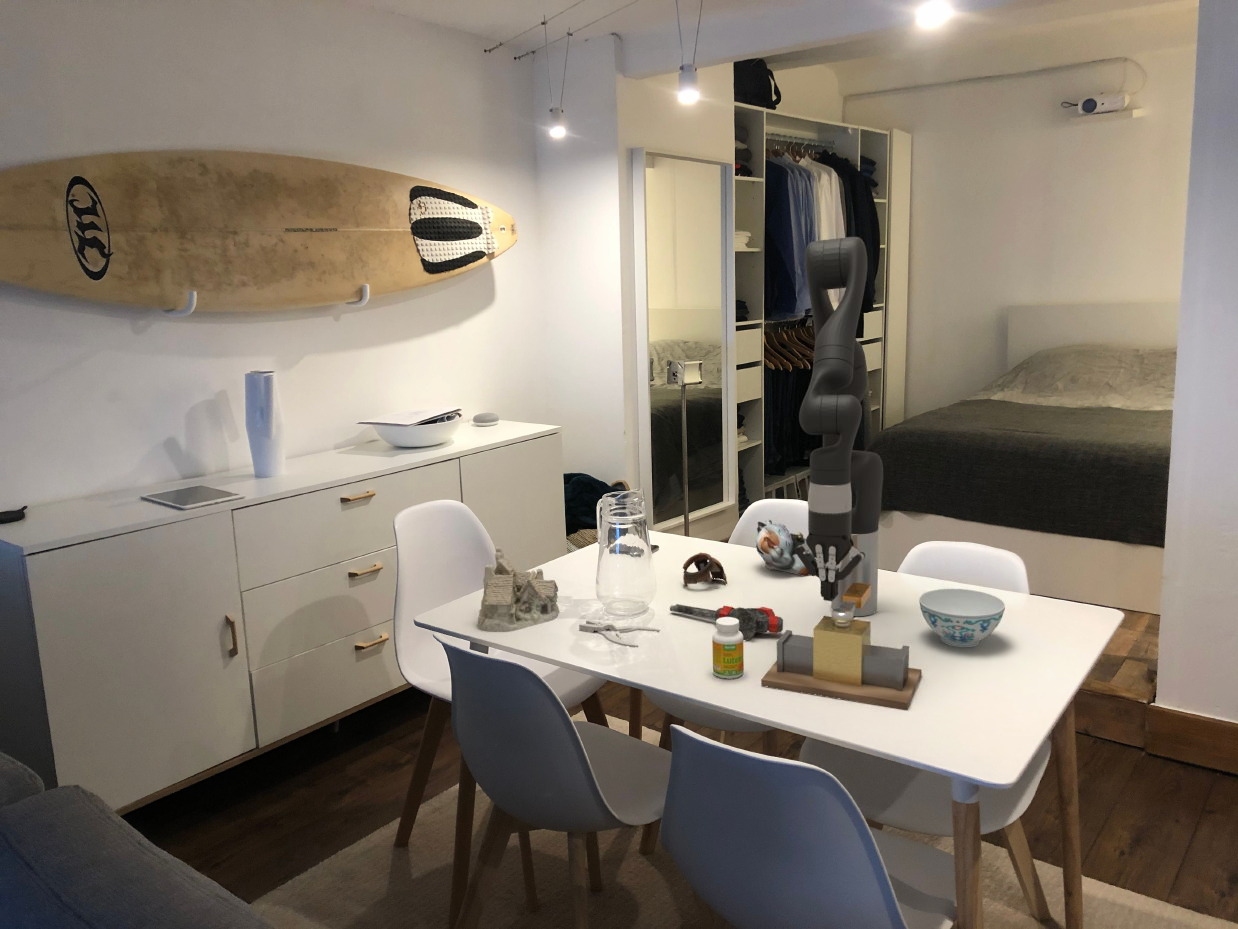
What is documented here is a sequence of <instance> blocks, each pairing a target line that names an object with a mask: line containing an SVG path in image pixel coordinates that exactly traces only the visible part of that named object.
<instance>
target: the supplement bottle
mask: <svg viewBox="0 0 1238 929" xmlns="http://www.w3.org/2000/svg"><path fill="white" fill-rule="evenodd" d="M715 627H716V628H715V629H716V630H715V631H714V632H713V634H712V638H711V639H712V643H711V644H712V672H713V673H712V674H714V676H715V677H717V676H718V678H721V679H724V678H726V680H732V679H733V678H734V679H737V678H740V677H741V675H742V676H743V674H744V673H745V672H744V670H745V669H744V666H745V664H744V663H745V662H744V660H745V659H744V657H745V656H744V640H743V634H742V633H741V632H740V631H739V620H738V619H736V618H732V617H722V618H719V619H717V620H716V621H715Z"/></svg>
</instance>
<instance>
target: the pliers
mask: <svg viewBox="0 0 1238 929" xmlns="http://www.w3.org/2000/svg"><path fill="white" fill-rule="evenodd" d="M578 629H579V630H578V631H580V632H587V633H591V634H593V633H594V632H597V633H598V634H599V635H602V636H603V637H605V638H606V640H607V641H609V642H611V643H613V644H616V645H619V646H621V647H622V646H623V647H627V646H629V647H630V648H635V647H637V648H638V647H639V644H636V643H631V642H628V641H625V640H622V637H621V635H620V634H623V633H624V634H626V633H633V632H635V631H646V632H654V631H657V632H656V633H660V632H661V629H658V628H654V627H649V626H644V625H643V626H642V625H641V626H639V625H621V626H617V625H614V624H613V623H611V622H603V623H601V621H597V620H592V619H587V620H585V623H579V625H578ZM608 630H609V631H610V632H608ZM659 631H660V632H659ZM612 632H616V633H615V636H616V637H615V636H614V635H613V634H612ZM618 632H619V633H618Z"/></svg>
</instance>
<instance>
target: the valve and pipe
mask: <svg viewBox="0 0 1238 929" xmlns="http://www.w3.org/2000/svg"><path fill="white" fill-rule="evenodd" d="M871 624H872V623H871V621H869V620H868V621H867V620H862V619H854V618H853V621H851V622H836V621H834V620H832V618H831V616H830V615H823V616H822V618H820V620H819V621H818V622H817V624H816V626H814V628H813V630H812V631H813V635H812V636H808V635H799V634H793V629H790V630H789V629H786V630H785V631H784V632H783V634H782V635H781V636H780V637H779V638H778V640H777V641H776V661H777V672H781V673H783V672H789V673H796V674H802V675H808V676H813V679H818V680H825V681H831V682H837V683H844V684H850V685H857V686H861V685H862V684H867V685H873V686H880V687H886V688H893V689H896V690H897V691H902V690H903V688H904V686H905V684H906V682H907V679H908V677H909V668H910V667H909V666H910V646H909V645H902V647H901V648H896V647H888V646H882V645H881V646H880V645H874V644H871V638H872V637H871V635H872V634H871V632H872V631H871V628H872V627H871V626H872V625H871Z"/></svg>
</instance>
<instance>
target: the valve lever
mask: <svg viewBox="0 0 1238 929" xmlns="http://www.w3.org/2000/svg"><path fill="white" fill-rule="evenodd" d="M870 595H871V584H865V583H855V582H853V583H852V584H851V586H850V587H849V588H848V590H847V591H846V592H845V594H844V595H843V604H842V605H841V606H840V608H837V609H833V610H832V609H831V616H830V617H831V618H832V620H834V621H836V622H851V621H853V619H854V616H853V613H854V610H855V609H856V608H859V609H861V608H862V607H863V605H864V604H865V602H866V601H867V599H868V598H869V597H870Z"/></svg>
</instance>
